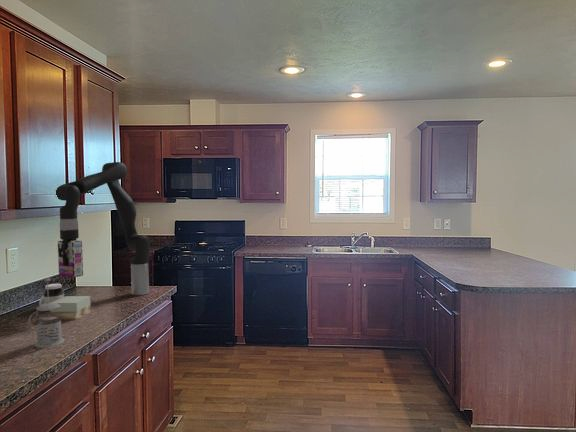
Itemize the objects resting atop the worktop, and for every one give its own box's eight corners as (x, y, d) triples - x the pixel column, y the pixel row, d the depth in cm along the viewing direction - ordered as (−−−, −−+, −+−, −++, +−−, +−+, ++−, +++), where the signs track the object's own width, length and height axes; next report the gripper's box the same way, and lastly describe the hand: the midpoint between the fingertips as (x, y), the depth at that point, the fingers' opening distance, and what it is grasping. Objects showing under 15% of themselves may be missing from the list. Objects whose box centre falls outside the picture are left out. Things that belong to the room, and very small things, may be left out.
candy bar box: (84, 275, 185) (82, 240, 184) (74, 277, 181) (72, 241, 180) (68, 273, 190) (66, 239, 189) (58, 275, 186) (56, 240, 185)
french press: (61, 345, 149) (58, 279, 147) (25, 349, 146) (22, 281, 144) (67, 336, 158) (65, 274, 157) (34, 340, 155) (31, 276, 153)
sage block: (65, 304, 192) (65, 296, 192) (90, 304, 192) (90, 296, 192) (50, 311, 180) (50, 302, 180) (76, 311, 180) (76, 302, 180)
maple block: (67, 312, 193) (67, 304, 193) (91, 312, 192) (90, 304, 192) (50, 320, 181) (50, 311, 181) (75, 320, 180) (75, 311, 180)
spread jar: (58, 310, 194) (57, 287, 193) (33, 312, 192) (32, 288, 192) (68, 304, 206) (67, 281, 205) (44, 305, 204) (43, 282, 203)
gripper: (71, 227, 192) (72, 261, 193) (51, 230, 178) (52, 267, 178) (86, 227, 191) (87, 262, 192) (67, 230, 177) (68, 267, 178)
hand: (70, 264), depth 185 cm, fingers closed on candy bar box, 6 cm apart
